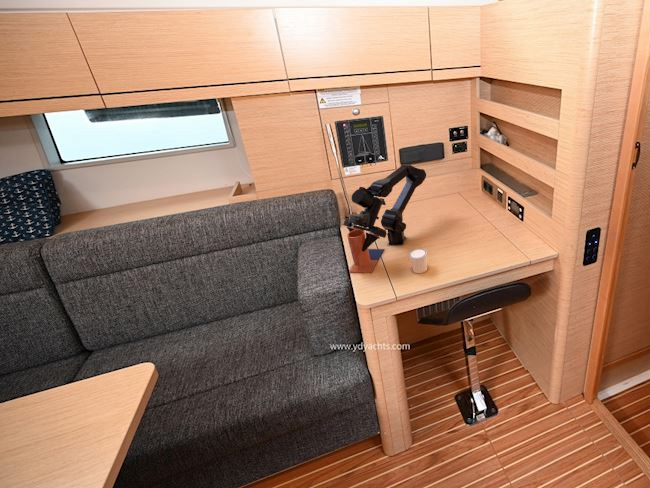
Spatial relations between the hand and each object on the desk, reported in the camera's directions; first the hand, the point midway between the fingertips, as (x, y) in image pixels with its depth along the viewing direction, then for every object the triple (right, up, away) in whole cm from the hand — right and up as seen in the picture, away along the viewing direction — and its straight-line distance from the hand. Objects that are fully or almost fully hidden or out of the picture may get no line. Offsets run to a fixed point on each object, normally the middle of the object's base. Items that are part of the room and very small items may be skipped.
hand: (356, 249), depth 129 cm
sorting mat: (+2, -6, +9) cm, 11 cm away
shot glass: (+25, -8, 0) cm, 26 cm away
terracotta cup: (+1, -6, +4) cm, 7 cm away
